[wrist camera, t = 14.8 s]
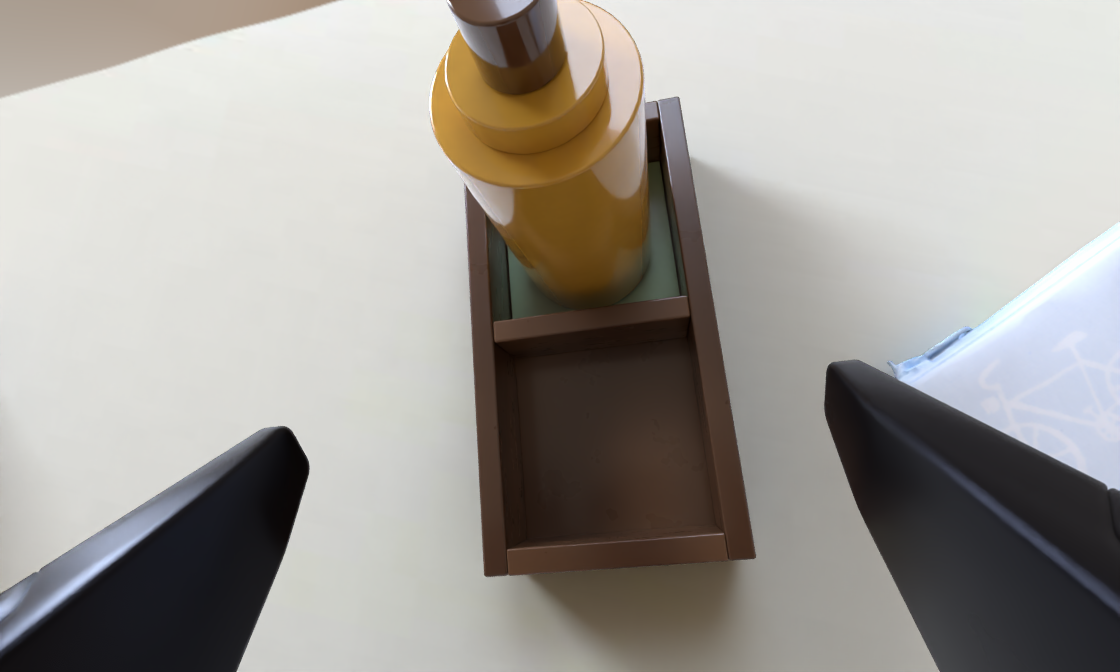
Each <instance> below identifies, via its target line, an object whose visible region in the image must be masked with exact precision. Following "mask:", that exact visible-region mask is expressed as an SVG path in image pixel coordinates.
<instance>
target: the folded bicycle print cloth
mask: <svg viewBox="0 0 1120 672" xmlns="http://www.w3.org/2000/svg"><path fill="white" fill-rule="evenodd" d="M887 364H888V365H889V366H891V367H892V369H893V371H894V374H895V378H896V379H898V380H900V381H902V382H904V383H906V384H908V385H910V386H912V387H914V388H916V389H918V390H920V391H922V392H924V393H926V394H928V395H930V396H932V397H934V398H936V399H938V400H940V401H942V402H944V403H946V404H948V405H950V406H952V407H954V408H956V409H957V410H959V411H961V412H963V413H965V414H967V415H969V416H971V417H973V418H975V419H977V420H979V421H981V422H983V423H985V424H987V425H989V426H991V427H993V428H995V429H997V430H999V431H1001V432H1003V433H1005V434H1007V435H1009V436H1011V437H1013V438H1015V439H1017V440H1019V441H1021V442H1023V443H1025V444H1027V445H1029V446H1031V447H1033V448H1035V449H1037V450H1039V451H1041V452H1043V453H1045V454H1047V455H1049V456H1051V457H1053V458H1055V459H1057V460H1059V461H1061V462H1063V463H1065V464H1067V465H1069V466H1071V467H1073V468H1075V469H1077V470H1079V471H1081V472H1083V473H1085V474H1087V475H1089V476H1091V477H1093V478H1095V479H1097V480H1099V481H1101V482H1103V483H1105V484H1106V485H1107V487H1108V489H1110V488H1115V489H1117V490H1119V491H1120V222H1118V223H1117V224H1116V225H1114V226H1113V227H1111V228H1110V229H1109V230H1107V231H1106V232H1105V233H1103V234H1102V235H1100V236H1099V237H1098V238H1096V239H1095V240H1093V241H1092V242H1090V243H1089V244H1087V245H1086V246H1084V247H1083V248H1082V249H1080V250H1079V251H1078V252H1076V253H1075V254H1074V255H1072V256H1071V257H1069V258H1068V259H1067V260H1065V261H1064V262H1063V263H1062V264H1060V265H1059V266H1058V267H1056V268H1055V269H1054V270H1053V271H1051V272H1050V273H1049V274H1047V275H1046V276H1045V277H1043V278H1042V279H1041V280H1039V281H1038V282H1037V283H1035V284H1034V285H1033V286H1031V287H1030V288H1029V289H1027V290H1026V291H1025V292H1023V293H1022V294H1020V295H1019V296H1018V297H1016V298H1015V299H1014V300H1012V301H1011V302H1010V303H1008V304H1007V305H1006V306H1004V307H1003V308H1002V309H1000V310H999V311H998V312H996V313H995V314H994V315H993V316H991V317H990V318H989V319H987V320H986V321H985V322H983V323H982V324H980V325H979V326H978V327H976V328H974V329H971V328H970V327H963V328H962V329H960V330H958V331H957V332H955V333H953V334H952V335H950V336H949V337H948V338H946V339H945V340H944V341H942V342H940V343H938V344H937V345H936V346H934V347H932V348H931V349H929V350H928V351H926V352H925V353H924V354H923V355H922V356H918V357H914V358H911V359H908V360H906V361H904V362H902V363H900V364H898V365H895V364H894V363H893V362H892V361H888V362H887Z"/></svg>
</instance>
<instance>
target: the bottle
mask: <svg viewBox="0 0 1120 672" xmlns="http://www.w3.org/2000/svg"><path fill="white" fill-rule="evenodd" d="M447 3H448V6H449V8H450V10H451V13H452V15H453V17H454V19H455V21H456V23H457V26H458V28H459V30H458V31H457V33H456V35H455V36H454V38H453V40H452V42H451V44H450V47H449V49H448V50H447V52H446V54H445V55H444V57H443V59H442V60H441V62H440V64H439V66H438V69H437V71H436V73H435V76H434V80H433V83H432V87H431V93H430V119H431V125H432V129H433V132H434V135H435V137H436V140H437V142H438V144H439V146H440V147H441V149H442V151H443V152H444V154H445V155H446V157H447V158H448V160H449V161H450V162H451V164H452V165H453V167H454V168H455V170H456V171H457V173H458V174H459V176H460V177H461V178H462V180H463V181H464V183H465V184H466V186H467V187H468V189H469V190H470V192H471V193H472V195H473V196H474V197H475V199H476V200H477V202H478V203H479V205H480V206H481V208H482V209H483V211H484V212H485V214H486V215H487V216H488V218H489V219H490V221H491V222H492V224H493V225H494V227H495V228H496V230H497V231H498V232H499V234H500V235H501V237H502V238H503V240H504V241H505V243H506V244H507V246H508V247H509V249H510V250H511V251H512V253H513V254H514V256H515V257H516V259H517V260H518V262H519V263H520V265H521V266H522V268H523V269H524V270H525V272H526V273H527V275H528V276H529V278H530V279H531V281H532V282H533V284H534V285H535V287H536V288H537V289H538V290H539V291H540V292H541V293H542V294H543V295H544V296H545V297H546V298H548V299H549V300H551V301H552V302H554V303H556V304H558V305H560V306H563V307H566V308H570V309H575V310H581V309H588V308H595V307H603V306H609V305H612V304H614V303H616V302H618V301H620V300H621V299H623V298H624V297H626V296H627V295H628V294H629V293H630V292H632V291H633V290H634V289H635V288H636V286H637V285H638V284H639V283H640V281H641V280H642V278H643V277H644V275H645V273H646V271H647V269H648V266H649V263H650V259H651V254H652V235H651V214H650V192H649V171H648V149H647V128H646V107H645V85H644V70H643V63H642V59H641V55H640V52H639V50H638V48H637V45H636V43H635V41H634V40H633V38H632V36H631V35H630V33H629V32H628V31H627V29H626V28H625V27H624V26H623V25H622V24H621V22H620V21H618V20H617V19H616V18H615V17H614V16H612V15H611V14H610V13H608V12H607V11H605V10H604V9H602V8H600V7H598V6H596V5H594V4H591V3H589V2H586V1H583V0H447Z"/></svg>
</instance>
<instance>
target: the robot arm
mask: <svg viewBox="0 0 1120 672" xmlns="http://www.w3.org/2000/svg"><path fill="white" fill-rule="evenodd" d="M824 410H825V416H826V420H827V423H828V426H829V429H830V432H831V434H832V437H833V440H834V443H835V446H836V448H837V451H838V454H839V457H840V460H841V462H842V465H843V468H844V471H845V474H846V477H847V479H848V482H849V485H850V488H851V491H852V493H853V496H854V499H855V501H856V504H857V506H858V509H859V511H860V513H861V515H862V517H863V519H864V522H865V524H866V526H867V528H868V530H869V532H870V534H871V536H872V538H873V540H874V542H875V544H876V546H877V548H878V550H879V552H880V554H881V556H882V558H883V560H884V562H885V564H886V566H887V568H888V569H889V571H890V573H891V575H892V577H893V579H894V581H895V583H896V585H897V587H898V589H899V591H900V593H901V595H902V597H903V599H904V601H905V603H906V605H907V607H908V609H909V611H910V613H911V615H912V617H913V619H914V621H915V623H916V625H917V627H918V629H919V631H920V633H921V635H922V637H923V639H924V641H925V643H926V645H927V647H928V649H929V651H930V653H931V655H932V657H933V659H934V661H935V663H936V665H937V667H938V669H939V671H940V672H1120V491H1119V490H1117V489H1115V488H1110V489H1108V487H1107V485H1106V484H1105V483H1103V482H1101V481H1099V480H1097V479H1095V478H1093V477H1091V476H1089V475H1087V474H1085V473H1083V472H1081V471H1079V470H1077V469H1075V468H1073V467H1071V466H1069V465H1067V464H1065V463H1063V462H1061V461H1059V460H1057V459H1055V458H1053V457H1051V456H1049V455H1047V454H1045V453H1043V452H1041V451H1039V450H1037V449H1035V448H1033V447H1031V446H1029V445H1027V444H1025V443H1023V442H1021V441H1019V440H1017V439H1015V438H1013V437H1011V436H1009V435H1007V434H1005V433H1003V432H1001V431H999V430H997V429H995V428H993V427H991V426H989V425H987V424H985V423H983V422H981V421H979V420H977V419H975V418H973V417H971V416H969V415H967V414H965V413H963V412H961V411H959V410H957V409H956V408H954V407H952V406H950V405H948V404H946V403H944V402H942V401H940V400H938V399H936V398H934V397H932V396H930V395H928V394H926V393H924V392H922V391H920V390H918V389H916V388H914V387H912V386H910V385H908V384H906V383H904V382H902V381H900V380H898V379H896V378H894V377H892V376H890V375H888V374H886V373H884V372H882V371H880V370H878V369H876V368H874V367H872V366H870V365H868V364H866V363H864V362H862V361H859V360H847V361H839V362H832V363H831V364H829V365H828V368H827V371H826V385H825V401H824ZM308 475H309V461H308V459H307V457H306V455H305V453H304V451H303V450H302V448H301V446H300V444H299V442H298V441H297V439H296V437H295V435H294V434H293V432H292V431H291V430H290V429H289V428H288V427H285V426H278V427H269V428H264V429H261V430H259V431H258V432H256V433H255V434H253V435H251V436H250V437H248V438H247V439H245V440H244V441H242V442H240V443H239V444H237V445H236V446H234V447H232V448H231V449H229V450H228V451H226V452H225V453H223V454H221V455H220V456H218V457H217V458H215V459H213V460H212V461H210V462H209V463H207V464H206V465H204V466H202V467H201V468H199V469H198V470H196V471H194V472H193V473H191V474H190V475H188V476H187V477H185V478H183V479H182V480H180V481H179V482H177V483H175V484H174V485H172V486H171V487H169V488H168V489H166V490H164V491H163V492H161V493H160V494H158V495H156V496H155V497H153V498H152V499H150V500H149V501H147V502H145V503H144V504H142V505H141V506H139V507H137V508H136V509H134V510H133V511H131V512H130V513H128V514H126V515H125V516H123V517H122V518H120V519H118V520H117V521H115V522H114V523H112V524H111V525H109V526H107V527H106V528H104V529H103V530H101V531H100V532H98V533H96V534H95V535H93V536H92V537H90V538H88V539H87V540H85V541H84V542H82V543H81V544H79V545H77V546H76V547H74V548H73V549H71V550H69V551H68V552H66V553H65V554H63V555H62V556H60V557H58V558H57V559H55V560H54V561H52V562H50V563H49V564H47V565H46V566H44V567H43V568H41V569H40V571H39V572H35V573H33V574H31V575H30V576H28V577H27V578H25V579H23V580H22V581H20V582H19V583H17V584H15V585H14V586H12V587H11V588H9V589H8V590H6V591H4V592H3V593H1V594H0V672H237V669H238V667H239V664H240V662H241V659H242V657H243V654H244V652H245V650H246V647H247V645H248V642H249V640H250V637H251V635H252V633H253V630H254V628H255V625H256V623H257V620H258V618H259V616H260V613H261V611H262V608H263V606H264V603H265V601H266V598H267V596H268V594H269V591H270V589H271V586H272V584H273V581H274V579H275V577H276V574H277V572H278V569H279V567H280V564H281V562H282V559H283V556H284V554H285V551H286V548H287V545H288V542H289V539H290V535H291V532H292V529H293V525H294V522H295V519H296V515H297V512H298V509H299V505H300V502H301V499H302V495H303V492H304V489H305V485H306V482H307V479H308Z"/></svg>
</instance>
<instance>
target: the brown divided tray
mask: <svg viewBox="0 0 1120 672" xmlns="http://www.w3.org/2000/svg"><path fill="white" fill-rule="evenodd" d="M645 107H646V128H647V149H648V171H649V192H650V214H651V235H652V254H651V259H650V263H649V266H648V269H647V271H646V273H645V275H644V277H643V278H642V280H641V281H640V283H639V284H638V285H637V286H636V288H635V289H634V290H633V291H632V292H630V293H629V294H628V295H627V296H626V297H624V298H623V299H621V300H620V301H618V302H616V303H614V304H612V305H609V306H603V307H595V308H588V309H581V310H575V309H570V308H566V307H563V306H560V305H558V304H556V303H554V302H552V301H551V300H549V299H548V298H546V297H545V296H544V295H543V294H542V293H541V292H540V291H539V290H538V289H537V288H536V287H535V285H534V284H533V282H532V281H531V279H530V278H529V276H528V275H527V273H526V272H525V270H524V269H523V268H522V266H521V265H520V263H519V262H518V260H517V259H516V257H515V256H514V254H513V253H512V251H511V250H510V249H509V247H508V246H507V244H506V243H505V241H504V240H503V238H502V237H501V235H500V234H499V232H498V231H497V230H496V228H495V227H494V225H493V224H492V222H491V221H490V219H489V218H488V216H487V215H486V214H485V212H484V211H483V209H482V208H481V206H480V205H479V203H478V202H477V200H476V199H475V197H474V196H473V195H472V193H471V192H470V190H469V189H468V187H467V186H466V184H465V183H464V188H465V208H466V227H467V247H468V267H469V286H470V306H471V326H472V345H473V365H474V385H475V404H476V424H477V444H478V463H479V483H480V503H481V522H482V542H483V562H484V575H485V576H486V577H495V576H506V575H510V576H512V575H527V574H542V573H556V572H571V571H586V570H601V569H616V568H630V567H645V566H660V565H675V564H690V563H705V562H719V561H728V559H729V560H731V561H733V560H748V559H755V558H756V552H755V546H754V540H753V535H752V529H751V523H750V517H749V511H748V505H747V499H746V493H745V487H744V481H743V475H742V469H741V463H740V457H739V451H738V445H737V439H736V433H735V427H734V421H733V415H732V409H731V403H730V397H729V391H728V385H727V379H726V373H725V367H724V361H723V355H722V349H721V343H720V337H719V331H718V325H717V320H716V314H715V308H714V302H713V296H712V290H711V284H710V278H709V272H708V266H707V260H706V254H705V248H704V242H703V236H702V230H701V224H700V218H699V212H698V206H697V200H696V194H695V188H694V182H693V176H692V170H691V164H690V158H689V152H688V146H687V140H686V134H685V128H684V122H683V116H682V110H681V105H680V99H679V97H673V98H668V99H663V100H659V101H658V103H657V101H653V102H647V103H645Z"/></svg>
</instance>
